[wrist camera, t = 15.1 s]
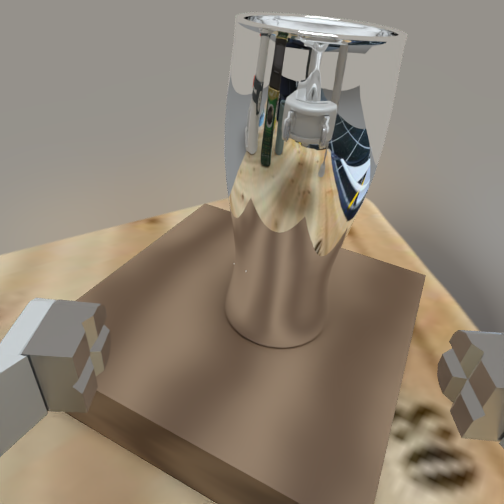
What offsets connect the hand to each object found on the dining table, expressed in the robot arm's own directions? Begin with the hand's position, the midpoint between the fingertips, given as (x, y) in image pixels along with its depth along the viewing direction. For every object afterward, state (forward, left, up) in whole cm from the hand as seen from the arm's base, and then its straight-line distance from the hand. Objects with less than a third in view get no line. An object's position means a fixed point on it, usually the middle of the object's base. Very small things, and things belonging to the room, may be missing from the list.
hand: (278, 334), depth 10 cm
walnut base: (-5, +10, -14) cm, 18 cm away
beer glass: (-4, +10, -10) cm, 15 cm away
